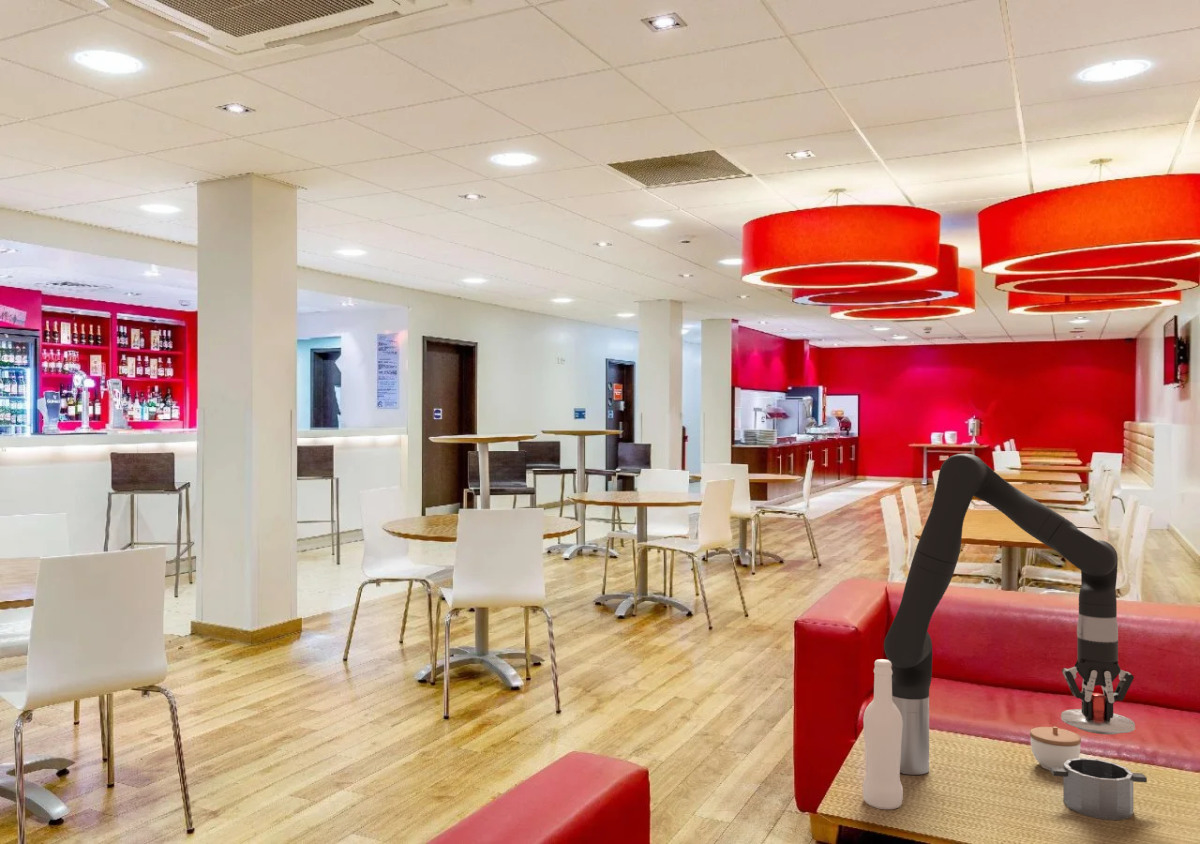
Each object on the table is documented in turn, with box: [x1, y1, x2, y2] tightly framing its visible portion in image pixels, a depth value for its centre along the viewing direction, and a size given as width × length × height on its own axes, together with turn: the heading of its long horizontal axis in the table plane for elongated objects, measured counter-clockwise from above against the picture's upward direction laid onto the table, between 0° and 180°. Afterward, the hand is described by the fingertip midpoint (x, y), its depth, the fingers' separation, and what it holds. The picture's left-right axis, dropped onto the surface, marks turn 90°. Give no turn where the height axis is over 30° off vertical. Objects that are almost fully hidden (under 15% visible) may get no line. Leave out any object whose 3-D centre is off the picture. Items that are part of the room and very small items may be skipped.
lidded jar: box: [1029, 726, 1082, 771], centre depth 215 cm, size 11×11×9 cm
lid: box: [1060, 692, 1136, 735], centre depth 192 cm, size 14×14×7 cm
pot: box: [1049, 757, 1148, 821], centre depth 192 cm, size 18×12×8 cm
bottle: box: [862, 658, 904, 810], centre depth 193 cm, size 8×8×30 cm
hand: (1097, 718), depth 192 cm, fingers closed on lid, 3 cm apart
